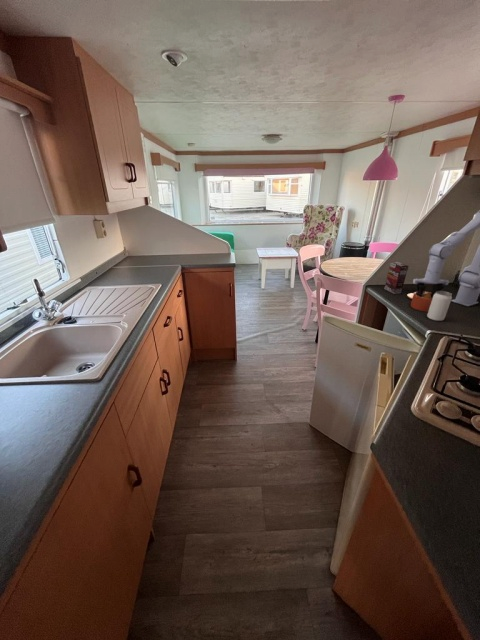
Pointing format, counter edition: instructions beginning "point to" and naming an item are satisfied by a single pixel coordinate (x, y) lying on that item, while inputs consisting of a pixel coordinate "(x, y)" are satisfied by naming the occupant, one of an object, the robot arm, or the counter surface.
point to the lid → (411, 295)
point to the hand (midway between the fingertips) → (425, 298)
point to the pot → (421, 302)
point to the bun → (426, 295)
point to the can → (439, 305)
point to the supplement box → (396, 277)
